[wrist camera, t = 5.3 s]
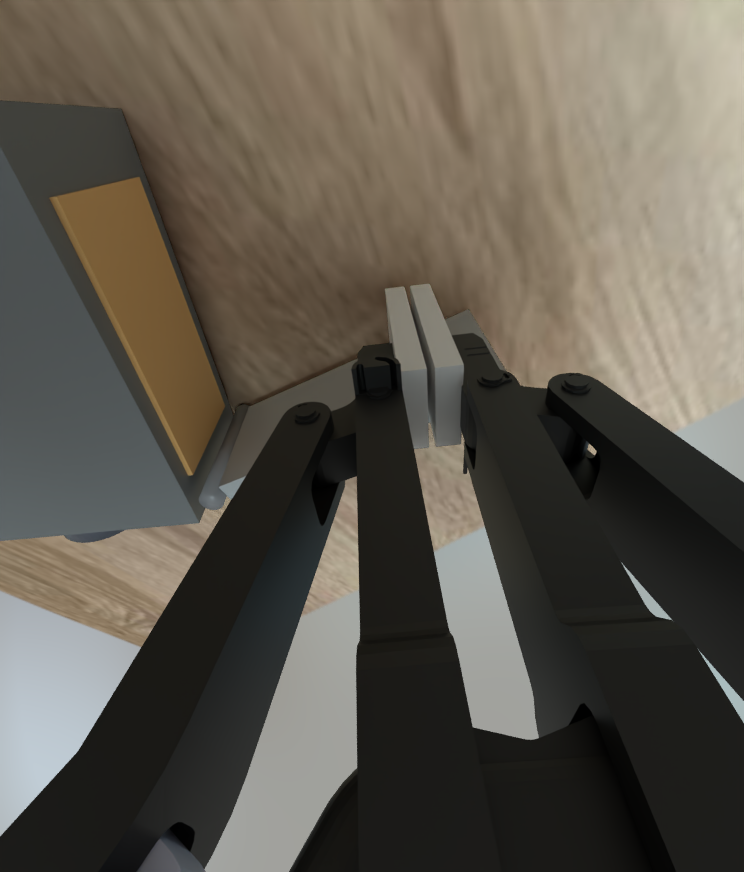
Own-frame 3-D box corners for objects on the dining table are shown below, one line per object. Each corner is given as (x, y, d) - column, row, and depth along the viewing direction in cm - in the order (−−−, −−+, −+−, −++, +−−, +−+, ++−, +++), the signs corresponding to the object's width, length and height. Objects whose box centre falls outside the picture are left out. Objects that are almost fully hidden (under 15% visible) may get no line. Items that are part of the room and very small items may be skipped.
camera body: (-148, 142, 15) (-506, 155, 9) (126, 108, 15) (-45, 95, 8) (79, 464, 24) (-16, 581, 18) (248, 448, 24) (211, 561, 18)
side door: (466, 304, 19) (507, 372, 14) (475, 331, 20) (518, 406, 15) (232, 408, 22) (193, 497, 17) (248, 429, 23) (216, 519, 18)
